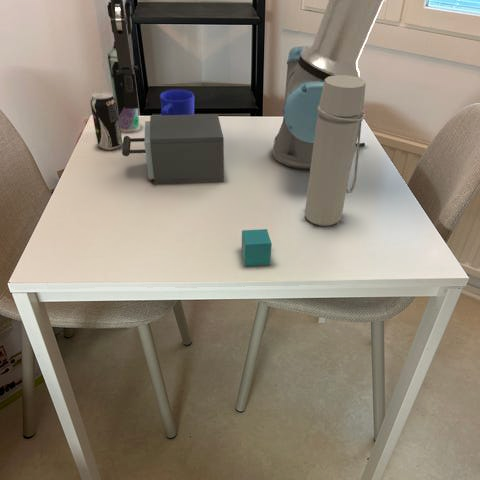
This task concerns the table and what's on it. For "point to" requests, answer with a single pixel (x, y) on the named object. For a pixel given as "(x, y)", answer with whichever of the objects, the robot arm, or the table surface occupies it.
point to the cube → (256, 247)
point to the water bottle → (334, 148)
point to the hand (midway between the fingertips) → (131, 107)
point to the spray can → (121, 97)
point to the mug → (177, 102)
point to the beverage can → (106, 120)
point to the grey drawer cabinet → (187, 148)
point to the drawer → (147, 150)
